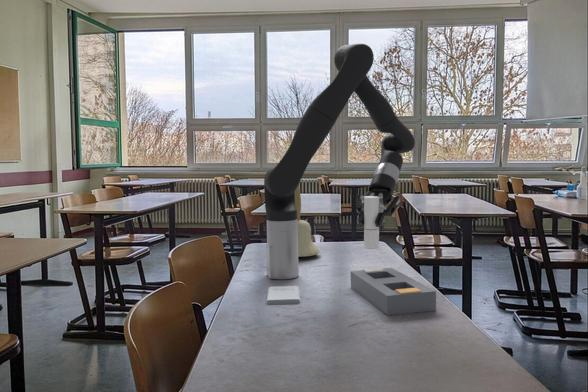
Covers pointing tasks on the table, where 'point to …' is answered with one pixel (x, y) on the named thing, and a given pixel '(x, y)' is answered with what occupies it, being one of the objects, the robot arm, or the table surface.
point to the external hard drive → (283, 295)
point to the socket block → (393, 291)
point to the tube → (371, 222)
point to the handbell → (304, 232)
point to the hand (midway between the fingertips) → (369, 224)
